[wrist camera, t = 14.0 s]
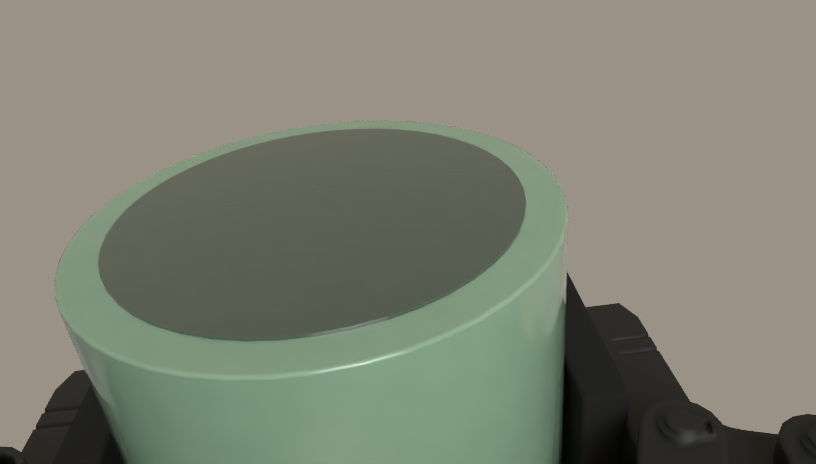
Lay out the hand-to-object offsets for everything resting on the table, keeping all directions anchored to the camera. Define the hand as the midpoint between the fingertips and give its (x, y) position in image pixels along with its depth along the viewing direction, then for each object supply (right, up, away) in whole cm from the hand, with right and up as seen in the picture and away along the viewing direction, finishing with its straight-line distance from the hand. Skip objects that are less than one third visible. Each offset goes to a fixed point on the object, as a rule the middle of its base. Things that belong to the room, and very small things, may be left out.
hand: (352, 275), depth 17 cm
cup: (+1, -8, -1) cm, 8 cm away
